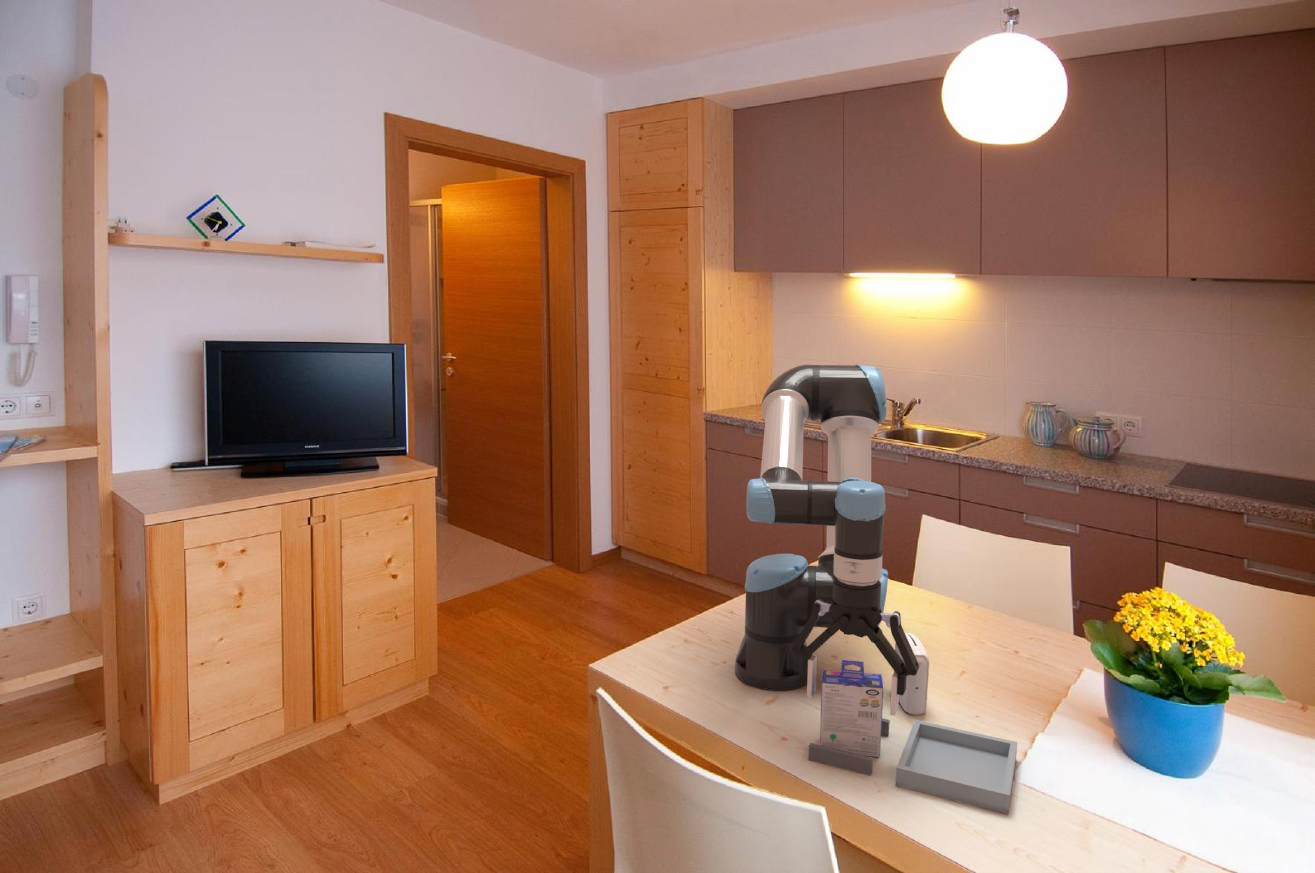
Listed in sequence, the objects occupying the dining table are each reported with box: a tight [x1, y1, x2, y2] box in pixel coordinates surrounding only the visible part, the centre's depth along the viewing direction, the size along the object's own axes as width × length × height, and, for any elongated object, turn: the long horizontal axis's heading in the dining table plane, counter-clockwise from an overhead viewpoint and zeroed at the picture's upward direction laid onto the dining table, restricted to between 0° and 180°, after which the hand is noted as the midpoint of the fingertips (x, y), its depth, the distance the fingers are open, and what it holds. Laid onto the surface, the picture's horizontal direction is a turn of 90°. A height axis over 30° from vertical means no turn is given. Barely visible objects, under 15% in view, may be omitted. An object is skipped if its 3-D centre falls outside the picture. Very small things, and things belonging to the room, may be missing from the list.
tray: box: [895, 719, 1018, 814], centre depth 133 cm, size 16×16×3 cm
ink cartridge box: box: [819, 659, 884, 758], centre depth 140 cm, size 10×6×14 cm, turn 79°
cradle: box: [807, 717, 891, 776], centre depth 141 cm, size 10×14×2 cm
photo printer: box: [893, 632, 930, 716], centre depth 155 cm, size 10×4×12 cm, turn 179°
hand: (851, 702), depth 139 cm, fingers open, 13 cm apart
